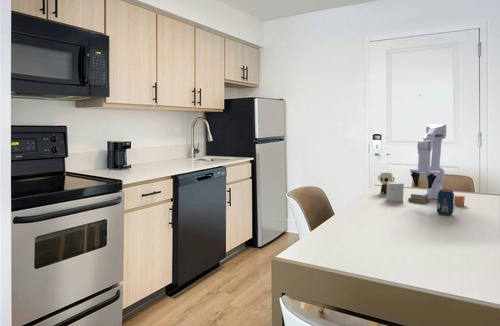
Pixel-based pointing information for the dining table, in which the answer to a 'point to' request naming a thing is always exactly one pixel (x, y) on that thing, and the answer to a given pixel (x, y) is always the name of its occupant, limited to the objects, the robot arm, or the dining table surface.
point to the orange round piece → (459, 200)
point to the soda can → (445, 202)
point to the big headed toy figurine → (385, 181)
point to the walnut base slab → (419, 200)
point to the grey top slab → (419, 196)
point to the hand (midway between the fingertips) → (422, 187)
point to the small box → (395, 191)
